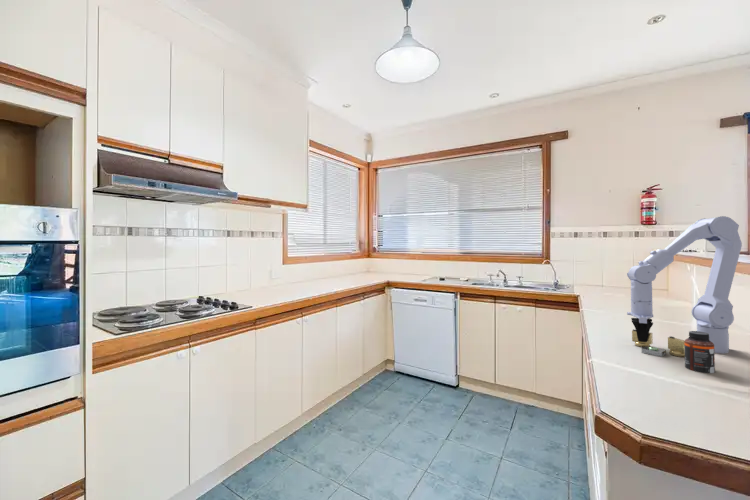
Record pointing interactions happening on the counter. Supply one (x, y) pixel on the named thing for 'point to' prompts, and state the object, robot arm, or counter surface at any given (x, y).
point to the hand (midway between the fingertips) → (642, 340)
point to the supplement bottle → (699, 352)
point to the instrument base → (654, 351)
